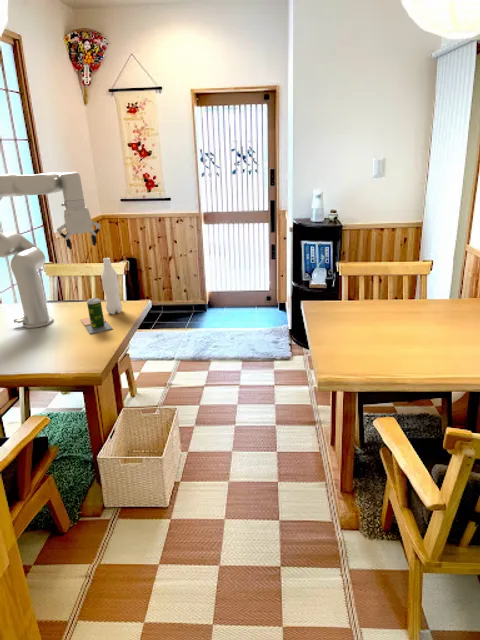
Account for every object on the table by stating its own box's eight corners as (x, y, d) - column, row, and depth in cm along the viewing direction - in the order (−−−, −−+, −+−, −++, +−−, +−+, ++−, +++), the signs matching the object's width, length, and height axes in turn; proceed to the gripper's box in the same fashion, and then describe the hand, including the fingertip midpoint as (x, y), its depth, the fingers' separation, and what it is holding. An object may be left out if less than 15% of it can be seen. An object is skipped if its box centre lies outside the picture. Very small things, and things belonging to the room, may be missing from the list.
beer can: (99, 324, 196) (95, 297, 191) (107, 326, 192) (103, 298, 188) (88, 328, 192) (83, 300, 188) (96, 330, 188) (91, 302, 184)
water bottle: (125, 309, 214) (117, 256, 205) (119, 315, 207) (111, 260, 199) (110, 310, 215) (101, 257, 206) (104, 315, 208) (95, 260, 200)
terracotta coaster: (84, 326, 196) (84, 325, 195) (80, 320, 203) (80, 319, 203) (106, 321, 200) (106, 320, 199) (101, 316, 207) (101, 315, 207)
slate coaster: (90, 334, 187) (90, 333, 186) (85, 327, 194) (85, 326, 194) (112, 329, 190) (112, 328, 190) (107, 323, 198) (107, 321, 198)
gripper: (53, 207, 179) (62, 251, 185) (98, 203, 186) (105, 245, 192) (50, 206, 185) (59, 248, 191) (94, 201, 192) (101, 242, 198)
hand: (82, 246), depth 192 cm, fingers open, 9 cm apart
